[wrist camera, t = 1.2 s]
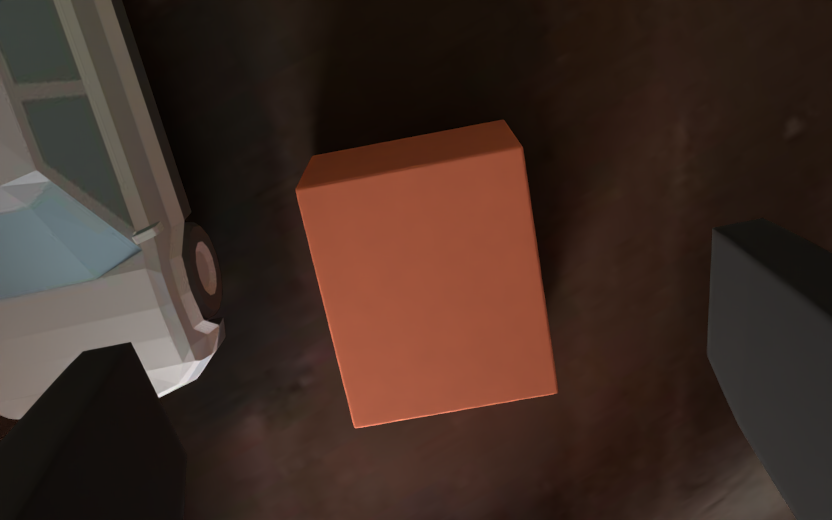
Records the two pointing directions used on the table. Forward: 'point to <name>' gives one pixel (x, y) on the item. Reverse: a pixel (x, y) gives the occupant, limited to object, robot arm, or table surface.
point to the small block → (430, 273)
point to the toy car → (92, 208)
